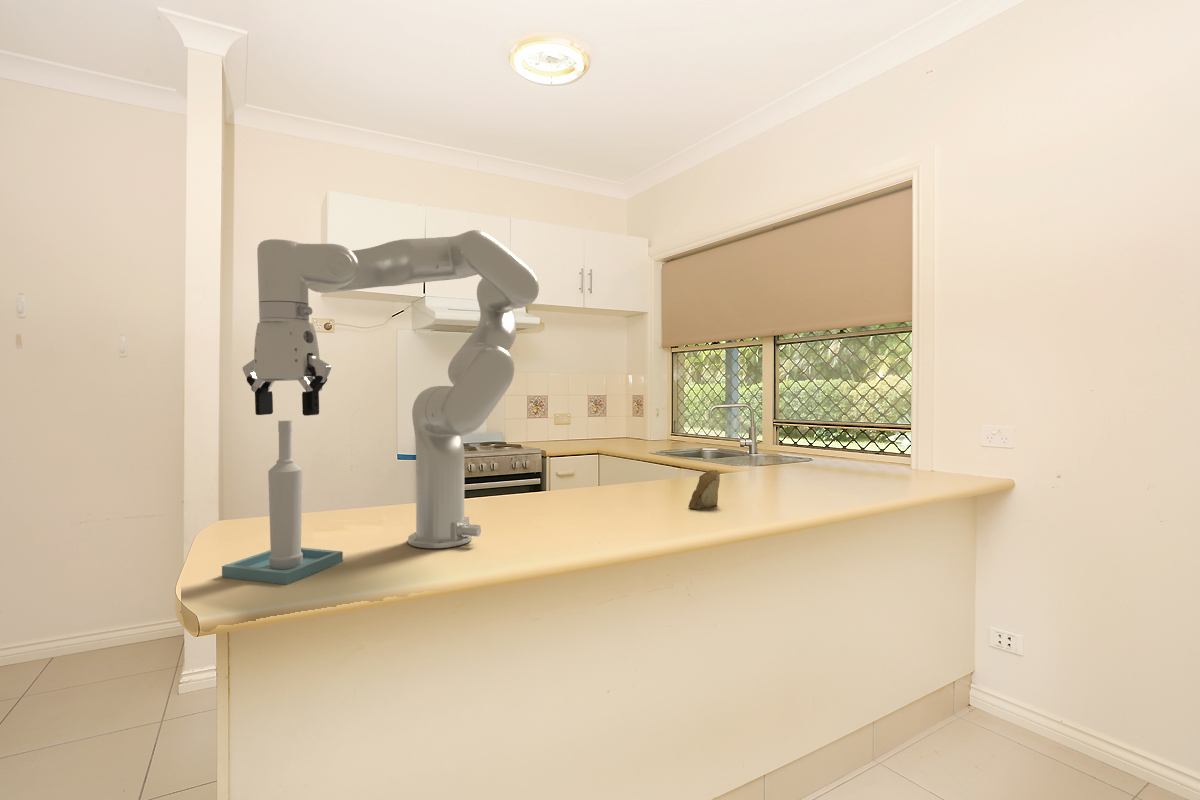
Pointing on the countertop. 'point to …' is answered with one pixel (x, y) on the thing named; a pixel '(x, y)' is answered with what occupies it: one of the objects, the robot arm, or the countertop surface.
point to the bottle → (285, 504)
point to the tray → (261, 570)
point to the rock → (706, 490)
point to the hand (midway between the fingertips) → (287, 414)
